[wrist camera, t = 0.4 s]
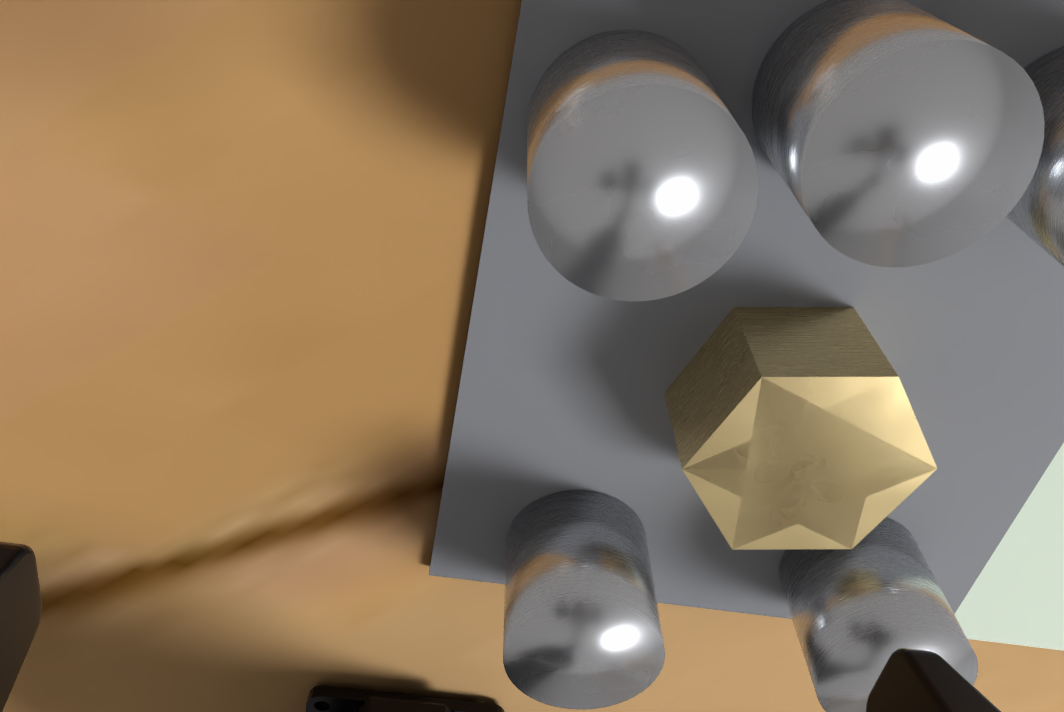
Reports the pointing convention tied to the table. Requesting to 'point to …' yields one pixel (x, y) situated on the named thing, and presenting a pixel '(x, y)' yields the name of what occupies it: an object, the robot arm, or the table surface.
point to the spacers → (710, 241)
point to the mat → (763, 281)
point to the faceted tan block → (796, 429)
